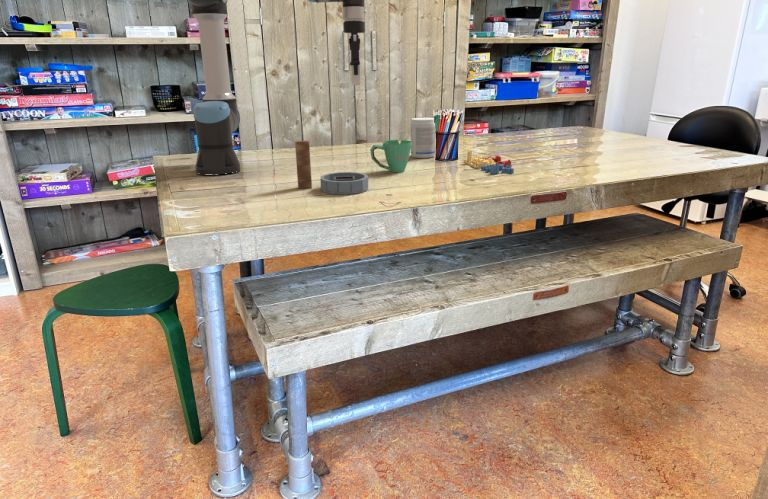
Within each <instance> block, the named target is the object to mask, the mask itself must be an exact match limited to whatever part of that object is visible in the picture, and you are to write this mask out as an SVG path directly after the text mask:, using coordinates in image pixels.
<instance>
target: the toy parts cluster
mask: <svg viewBox="0 0 768 499" xmlns="http://www.w3.org/2000/svg"><path fill="white" fill-rule="evenodd" d="M472 152H473V151H472V150H468V151H467V153H466V156H467V157H466V159H463V163H464V164H466V165H468V166H471V167H473V168H475V169H478V170H481V171H482V172H485V173H489V175H500V171H501V173H502V174H511V175H512V174H514V171H515V168H514V167H513V164H512V160H511V159H508V160H504V161H503V160H502V157H501V156H500V155H495V157H491V155H490V156H488V157H485V156H484V155H483V156H482V155H474V156H473V158H472V154H473V153H472Z"/></svg>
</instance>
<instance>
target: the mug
mask: <svg viewBox="0 0 768 499" xmlns="http://www.w3.org/2000/svg"><path fill="white" fill-rule="evenodd" d="M411 145H412V142H411V140H406V139H401V140H400V142H399V140H398V139H389V140H384V141H382V145H381V144H373V145H372V146H371V148H370V157H371V160H373V162H374V163H376V165H377V166H379V167H380V168H382V169H384V170H388V171H390V173H403V172H405V171H406V168H407V164H408V162H409V159H410V155H411ZM377 149H378V150H383V151H384V155H385V160H386V162H387V165H385V164H382V163H381V162H380V161H379V160H378V159H377V158H376V156H375V151H376V150H377Z"/></svg>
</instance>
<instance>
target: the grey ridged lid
mask: <svg viewBox="0 0 768 499" xmlns="http://www.w3.org/2000/svg"><path fill="white" fill-rule="evenodd" d="M335 176H355V180H353V181H334V177H335ZM319 179H320V180H319V181H320V191H321V192H322V193H324V194H327V195H335V196H337V195H338V196H349V195H359V194H362V193H364V192H367V191H368V190H369V176H368V174H366V173H364V172H363V173H362V172H357V171H356V172H355V171H338V172H330V173H326V174H325V173H324V174H322V175H321V176H320V178H319Z"/></svg>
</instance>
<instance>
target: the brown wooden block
mask: <svg viewBox="0 0 768 499" xmlns="http://www.w3.org/2000/svg"><path fill="white" fill-rule="evenodd" d="M294 145H295V146H294V147H295V158H296V160H295V162H296V174H297V189H299V190H302V189H304V190H305V189H309V190H310V189H312V188H313V185H312V184H313V183H312V182H313V181H312V180H313V179H312V166H311V165H312V164H311V150H310V149H311V147H310V146H311V145H310V140H295V142H294Z"/></svg>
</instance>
